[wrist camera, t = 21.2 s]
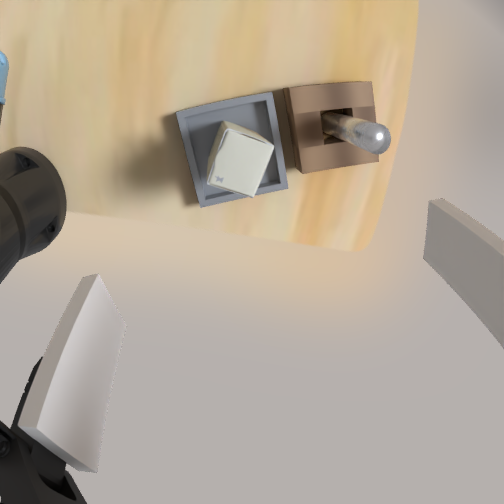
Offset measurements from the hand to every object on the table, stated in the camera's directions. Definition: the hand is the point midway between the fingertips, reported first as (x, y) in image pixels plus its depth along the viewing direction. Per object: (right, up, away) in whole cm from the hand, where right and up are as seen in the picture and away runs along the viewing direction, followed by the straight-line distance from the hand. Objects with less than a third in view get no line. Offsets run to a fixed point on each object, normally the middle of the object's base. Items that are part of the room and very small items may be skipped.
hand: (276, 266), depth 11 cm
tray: (-3, +13, +23) cm, 27 cm away
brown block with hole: (+8, +16, +23) cm, 29 cm away
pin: (+9, +16, +23) cm, 29 cm away
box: (-3, +13, +23) cm, 26 cm away
